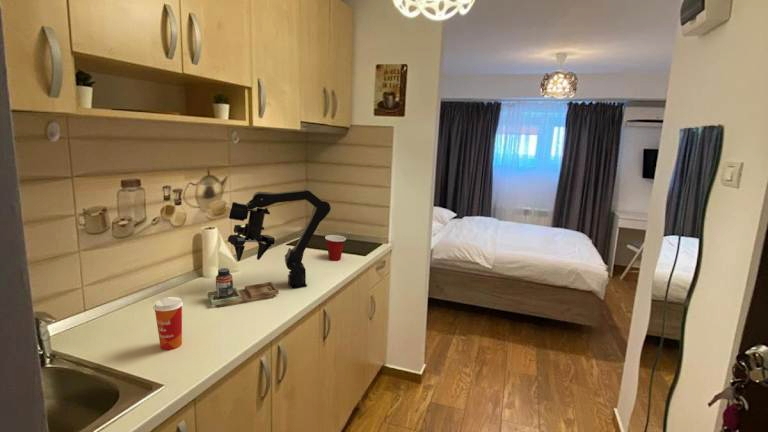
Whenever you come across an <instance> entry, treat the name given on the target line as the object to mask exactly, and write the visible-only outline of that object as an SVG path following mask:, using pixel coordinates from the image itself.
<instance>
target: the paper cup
mask: <svg viewBox="0 0 768 432" xmlns="http://www.w3.org/2000/svg"><path fill="white" fill-rule="evenodd" d="M183 305H184V303H183V301H182V299H181V298H180V297H178V296H177V297H176V296H169V297H165V298H161V299H160V300H159V299H157V300H156V301H155V303H154V306H153V308H152V309H153V310H154V312H155V320H156V321H155V322H156V325H157V332H158V339H159V340H158V341H159V346H160V349H161V350H164V351H171V350H176V349H178V348H180V347H181V346H182V343H183V341H182V340H183V313H182V312H183Z"/></svg>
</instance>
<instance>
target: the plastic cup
mask: <svg viewBox="0 0 768 432" xmlns="http://www.w3.org/2000/svg"><path fill="white" fill-rule="evenodd" d="M324 238H325V243H326V248H327V253H328V258H329V260H330V261H331V262H338V261H341V259H342V254H343V250H344V244H345V241H346V240H347V238H346V237H345V236H342V235H339V234H338V235H335V234H331V235H330V234H329V235H325V237H324Z"/></svg>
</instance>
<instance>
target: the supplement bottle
mask: <svg viewBox="0 0 768 432" xmlns="http://www.w3.org/2000/svg"><path fill="white" fill-rule="evenodd" d="M233 288H234V280H233V274H231V273H230V268H227V267H226V268H225V267H224V268H219V269H218V270H217V275H216V276H215V289H216V290H215V291H217V299H219V300H220V299H226V298H232V297H233Z"/></svg>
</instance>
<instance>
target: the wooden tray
mask: <svg viewBox="0 0 768 432" xmlns="http://www.w3.org/2000/svg"><path fill="white" fill-rule="evenodd" d="M267 287H269V288H270V289H271V290H270V289H268V288H267ZM206 292H207V294H206V296H207V298H208V301H209V302H210V305H211V306H218V308H224V307H231V306H235V305H242V304H247V303H252V302H257V301H265V300H270V299H273V298H274V296H275V295H276V296H277V295H279V289H278V288H277V287H276V286H275V285H274V283H273V282H272V281H267V282H263V283H255V284H249V285H245V286H244V288H241V289H237V287H233V297H232V298H226V299H220V300H219V299H217V291H216V290H210V291H206Z"/></svg>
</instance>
